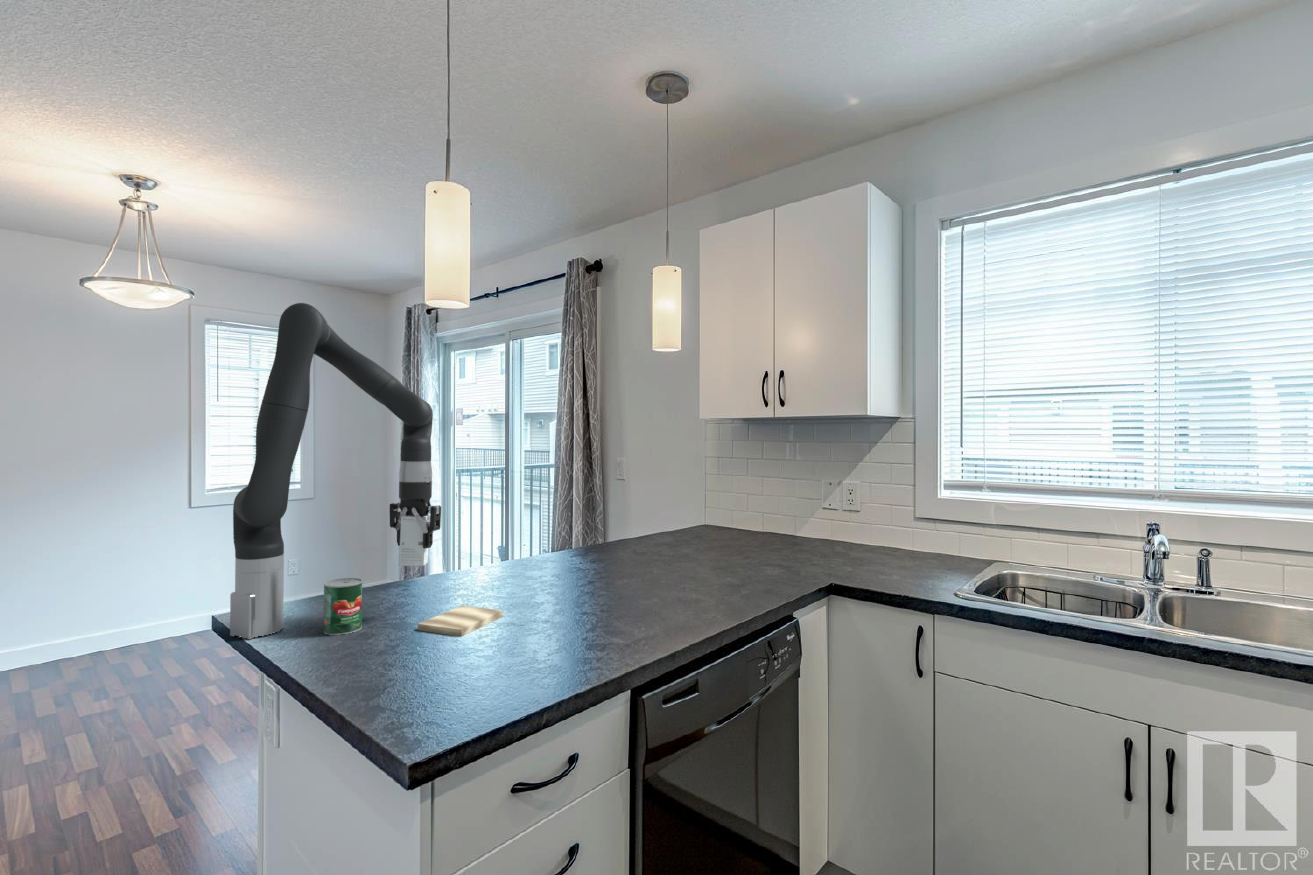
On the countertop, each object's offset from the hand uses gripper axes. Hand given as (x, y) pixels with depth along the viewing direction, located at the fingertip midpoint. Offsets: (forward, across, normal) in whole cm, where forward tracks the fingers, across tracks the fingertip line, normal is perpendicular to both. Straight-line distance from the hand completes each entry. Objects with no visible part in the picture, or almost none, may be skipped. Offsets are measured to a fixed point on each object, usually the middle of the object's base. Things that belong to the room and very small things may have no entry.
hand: (414, 546), depth 151 cm
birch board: (+17, +14, 0) cm, 22 cm away
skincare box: (+5, 0, 0) cm, 5 cm away
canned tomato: (+18, -8, -14) cm, 24 cm away
